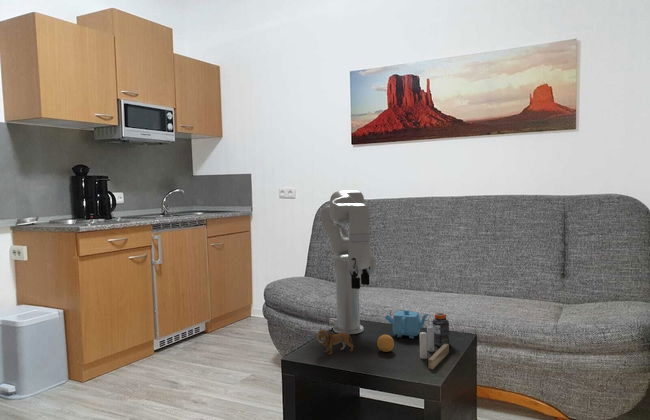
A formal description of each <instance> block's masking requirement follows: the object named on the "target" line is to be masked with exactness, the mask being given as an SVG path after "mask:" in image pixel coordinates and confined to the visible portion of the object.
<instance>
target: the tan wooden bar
mask: <svg viewBox="0 0 650 420" xmlns="http://www.w3.org/2000/svg"><path fill="white" fill-rule="evenodd" d="M449 353H450V343H449V344H444V345H443V346H440V348H438V349H437V350H436V351H435V352H434V353H433V354H432V356H431V357H429V358H428V361H427V362H428V370H434V369H435V368H436V367H437V366H438V365H439V364H440V363H441V362H442V361H443V360H444V359H445V357H446V356H447V355H448V354H449Z"/></svg>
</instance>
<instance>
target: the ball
mask: <svg viewBox="0 0 650 420" xmlns="http://www.w3.org/2000/svg"><path fill="white" fill-rule="evenodd" d="M376 345H377V348H378V349H379V350H380V351H381V352H384V353H388V352H390V351H392V350H393V349H394V345H395V342H394V338H393V337H392V336H391V335H388V334H382V335H380V336H379V337H378V338H377V341H376Z"/></svg>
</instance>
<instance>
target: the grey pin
mask: <svg viewBox="0 0 650 420" xmlns="http://www.w3.org/2000/svg"><path fill="white" fill-rule="evenodd" d="M426 333H427V352H430V353H433V352H435V344H434V327H433V325H432V326H431V325H427V327H426Z"/></svg>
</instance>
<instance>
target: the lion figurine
mask: <svg viewBox="0 0 650 420" xmlns="http://www.w3.org/2000/svg"><path fill="white" fill-rule="evenodd" d="M350 335H351V334H348V333H345V332H342V333H333V332H331V331H330V330H327V329H324V328H321V329H320V330H318V332H317V334H316V336H317V341H318V343H320V344H321V345H322V346H324V347H325V350H324V353H327V354H328V355H332V353H333V345H338V344H340V343H341V344H342V347H340V348H339V350H341V351H343V350H344V349H345V348H346V345H347V346H348V347H349V352H353V351H354V348H355V347H356V346H354V344H353V341H352V337H351V336H350Z"/></svg>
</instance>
